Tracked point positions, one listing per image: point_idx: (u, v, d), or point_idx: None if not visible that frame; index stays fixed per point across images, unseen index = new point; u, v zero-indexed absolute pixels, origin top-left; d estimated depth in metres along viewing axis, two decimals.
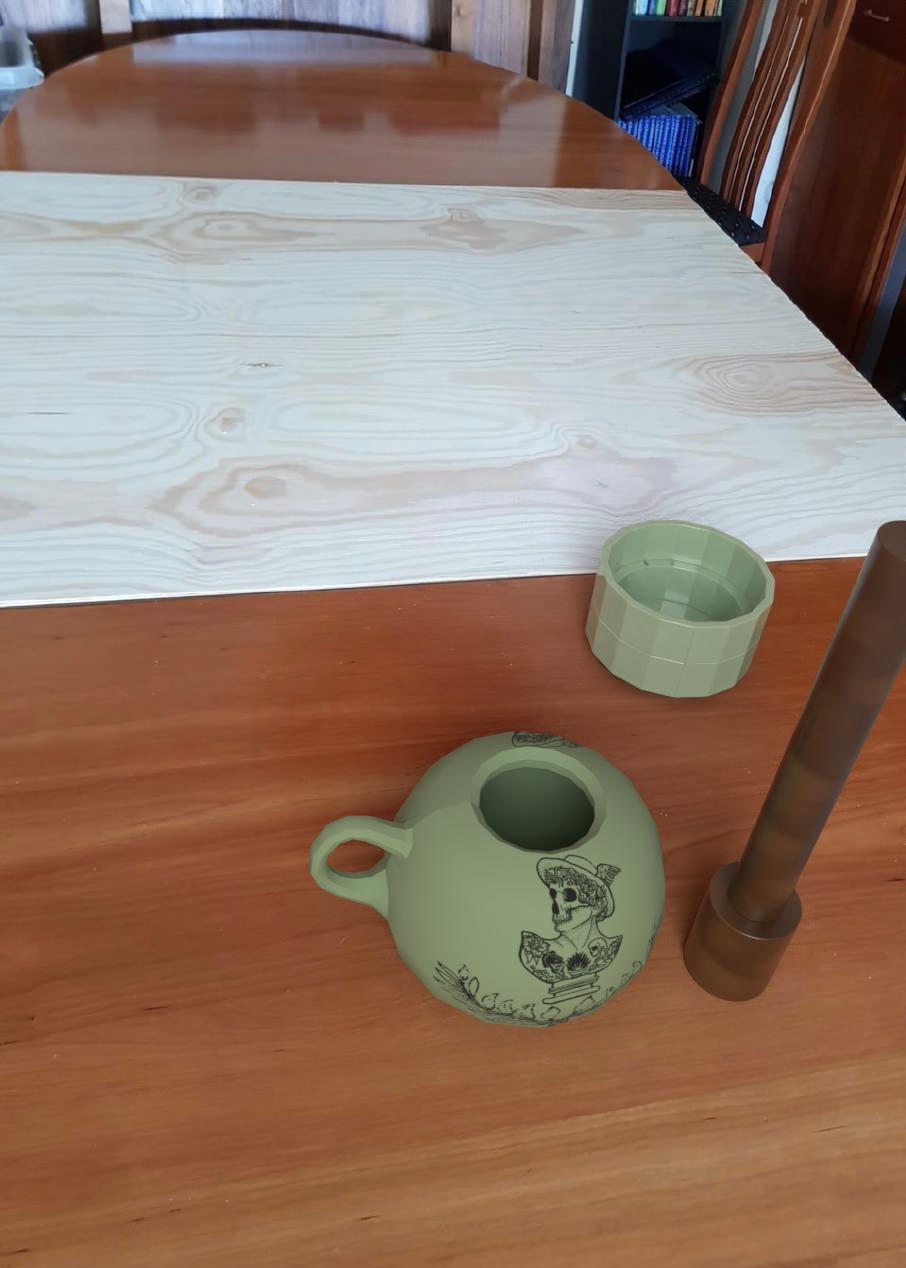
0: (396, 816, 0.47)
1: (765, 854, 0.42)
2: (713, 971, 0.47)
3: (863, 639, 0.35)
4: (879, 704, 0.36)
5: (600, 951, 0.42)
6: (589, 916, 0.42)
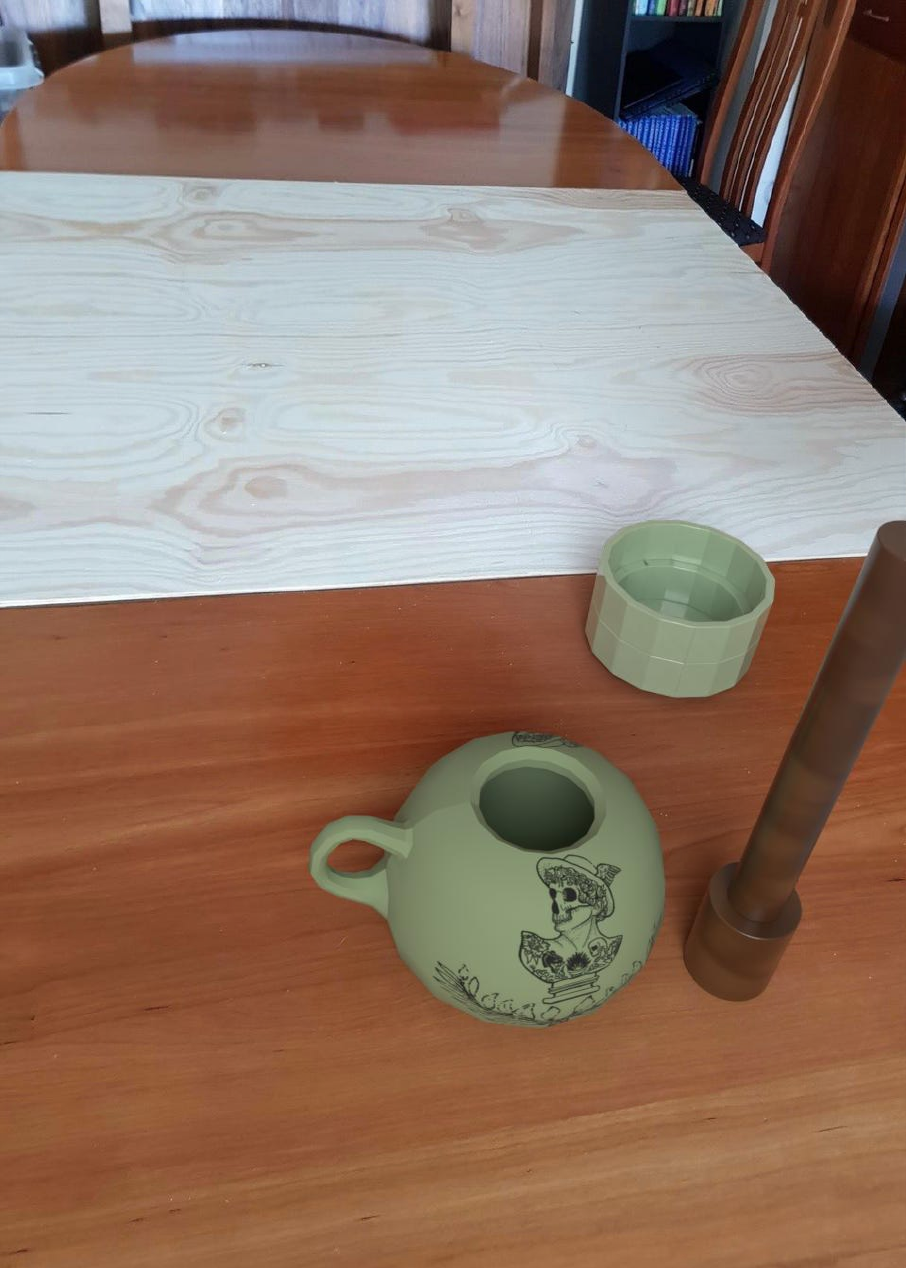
0: (396, 816, 0.47)
1: (765, 854, 0.42)
2: (713, 971, 0.47)
3: (863, 639, 0.35)
4: (879, 704, 0.36)
5: (600, 951, 0.42)
6: (589, 916, 0.42)
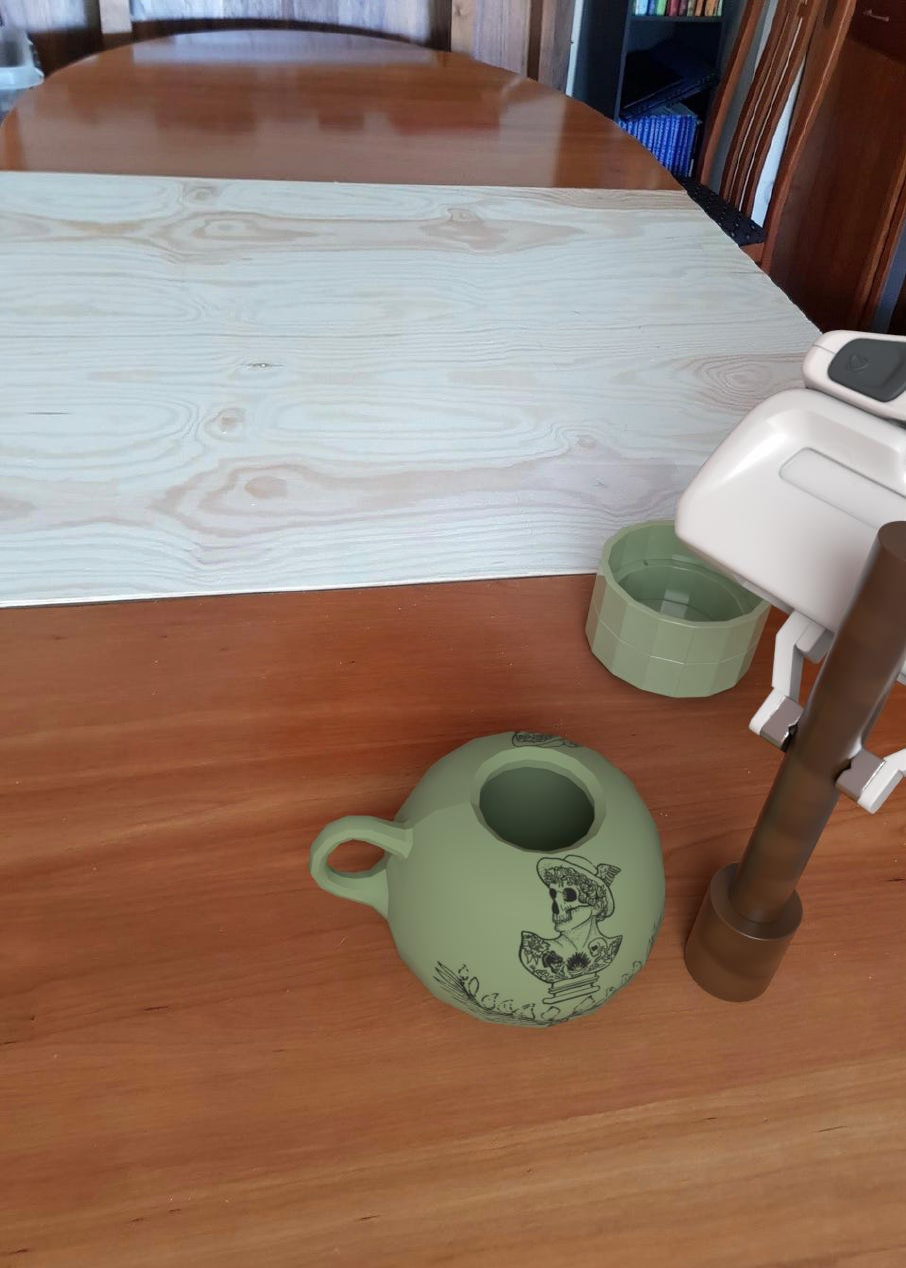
0: (396, 816, 0.47)
1: (766, 855, 0.42)
2: (714, 972, 0.46)
3: (863, 640, 0.34)
4: (880, 705, 0.36)
5: (600, 951, 0.42)
6: (589, 916, 0.42)
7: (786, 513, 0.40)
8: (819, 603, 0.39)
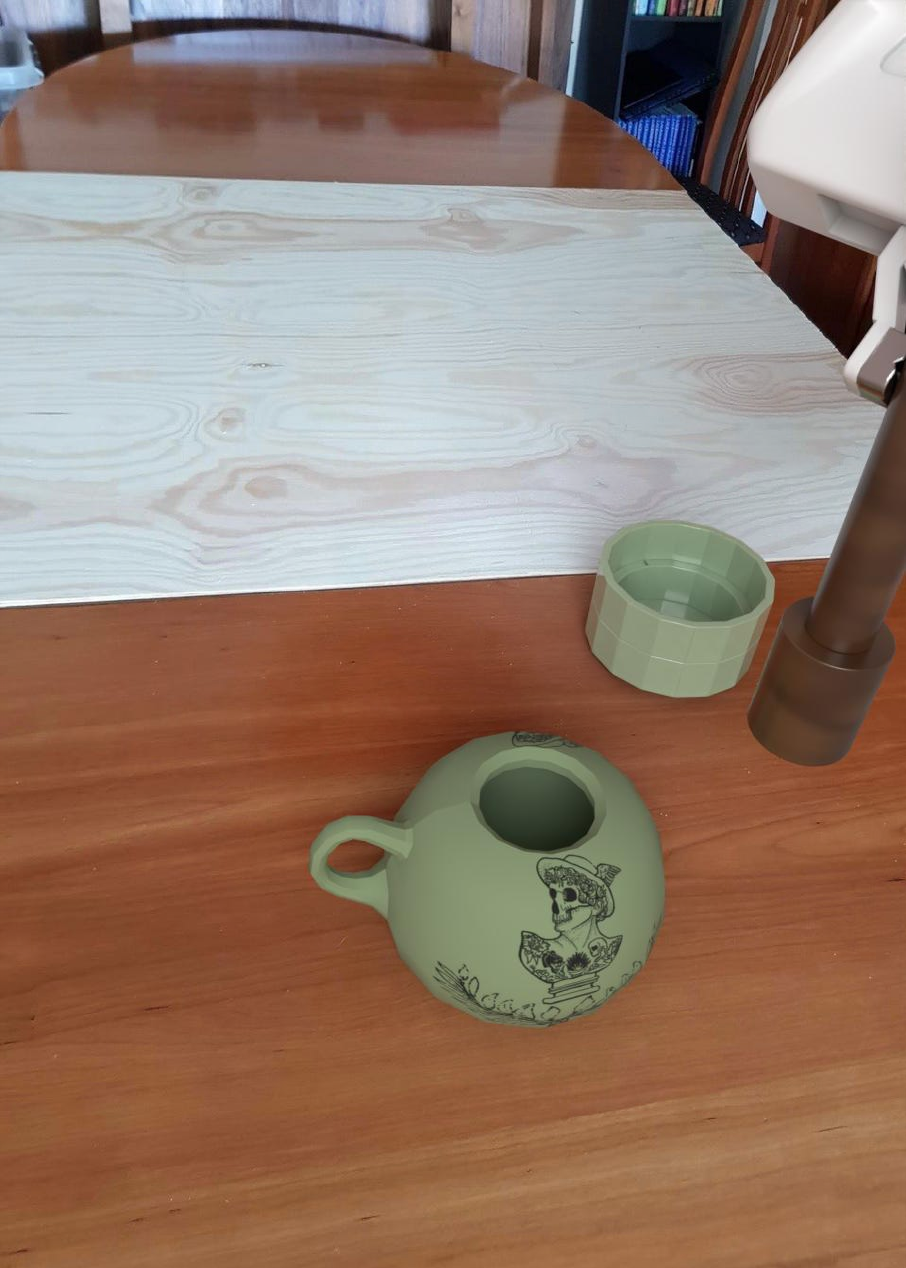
0: (396, 816, 0.47)
1: (858, 551, 0.34)
2: (786, 725, 0.39)
3: None
4: None
5: (600, 951, 0.42)
6: (589, 916, 0.42)
7: (891, 109, 0.32)
8: None
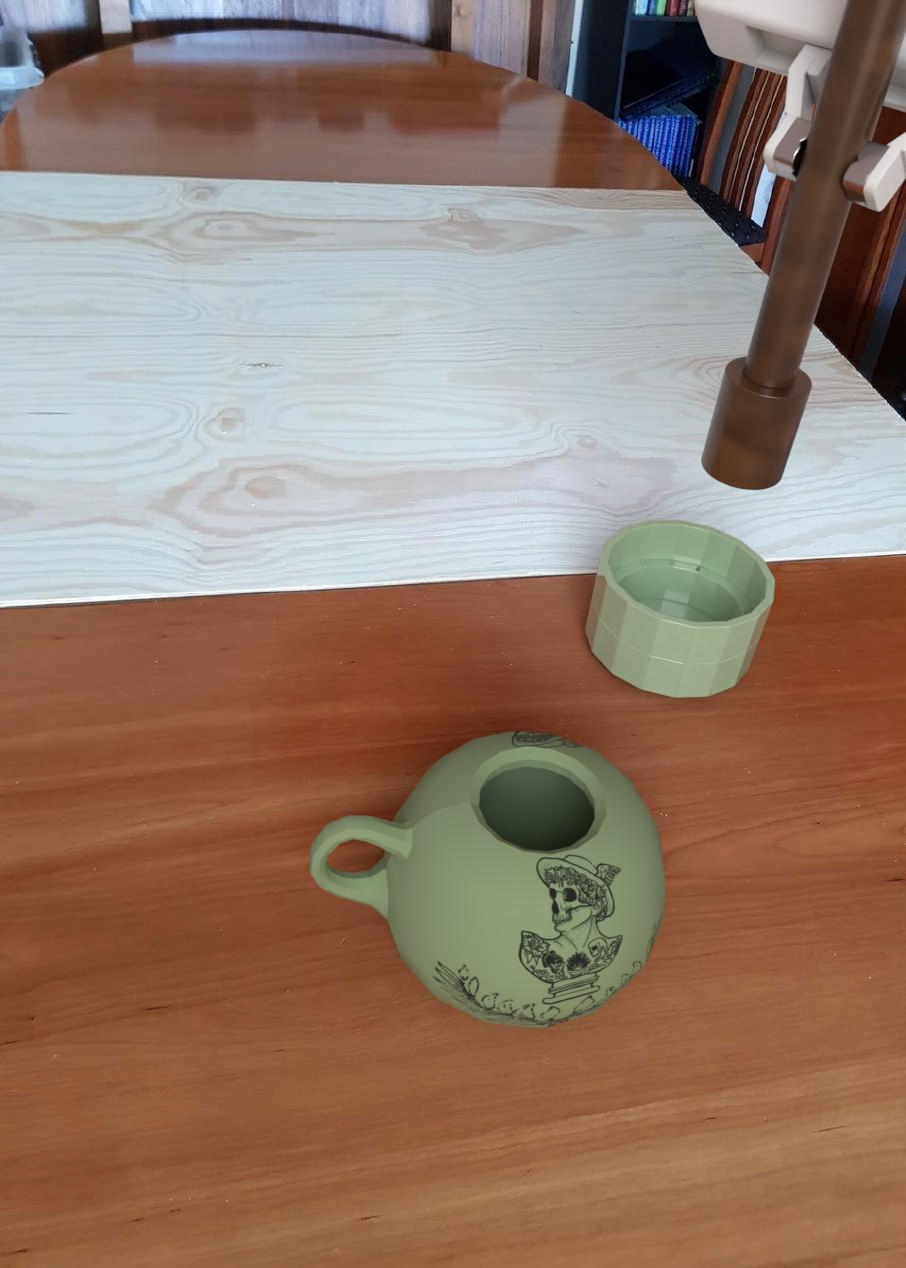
0: (396, 816, 0.47)
1: (778, 296, 0.46)
2: (729, 453, 0.50)
3: None
4: (884, 77, 0.40)
5: (600, 951, 0.42)
6: (589, 916, 0.42)
7: None
8: (828, 23, 0.42)
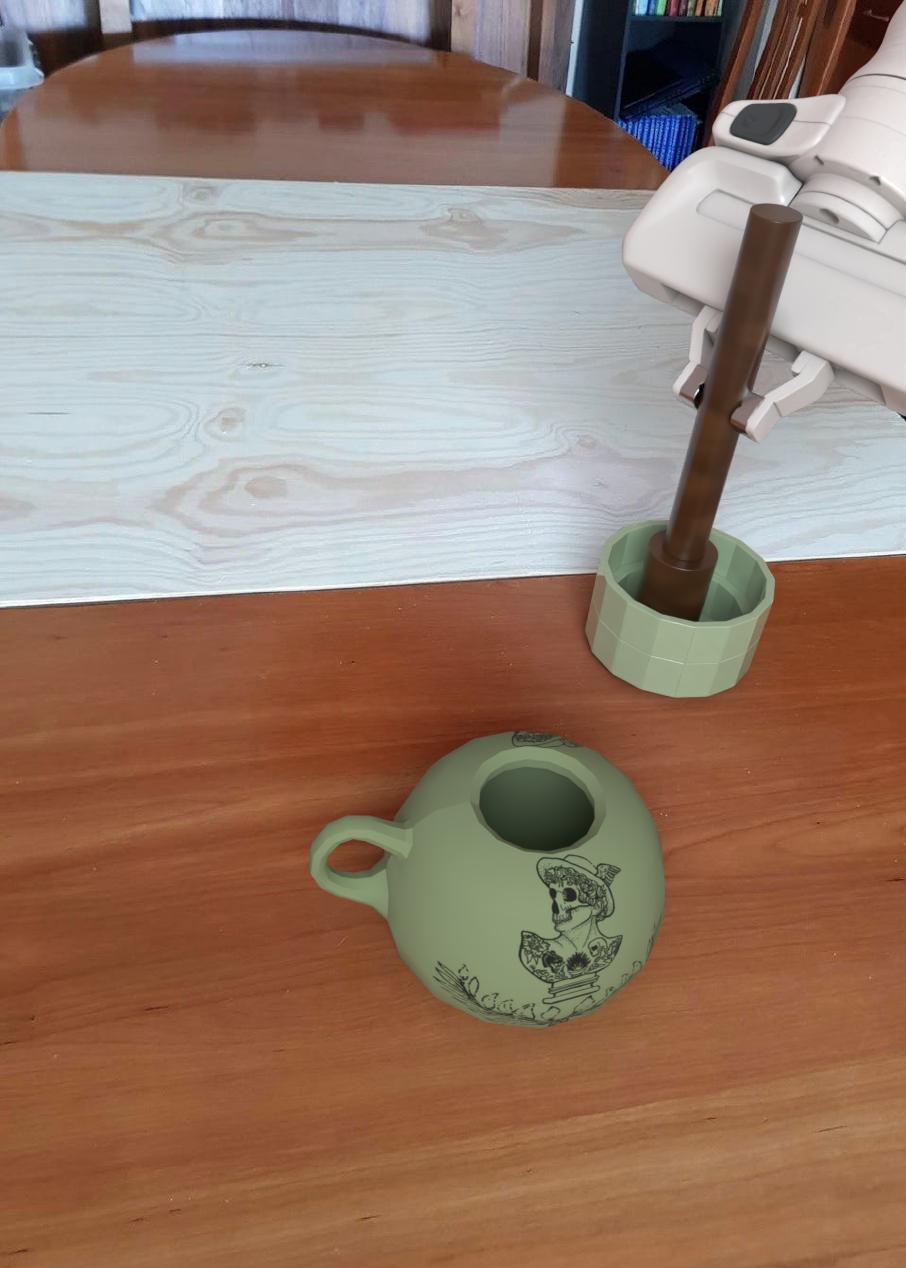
0: (396, 816, 0.47)
1: (686, 495, 0.57)
2: (653, 609, 0.62)
3: (743, 290, 0.49)
4: (758, 348, 0.51)
5: (600, 951, 0.42)
6: (589, 916, 0.42)
7: (700, 236, 0.55)
8: (721, 293, 0.54)
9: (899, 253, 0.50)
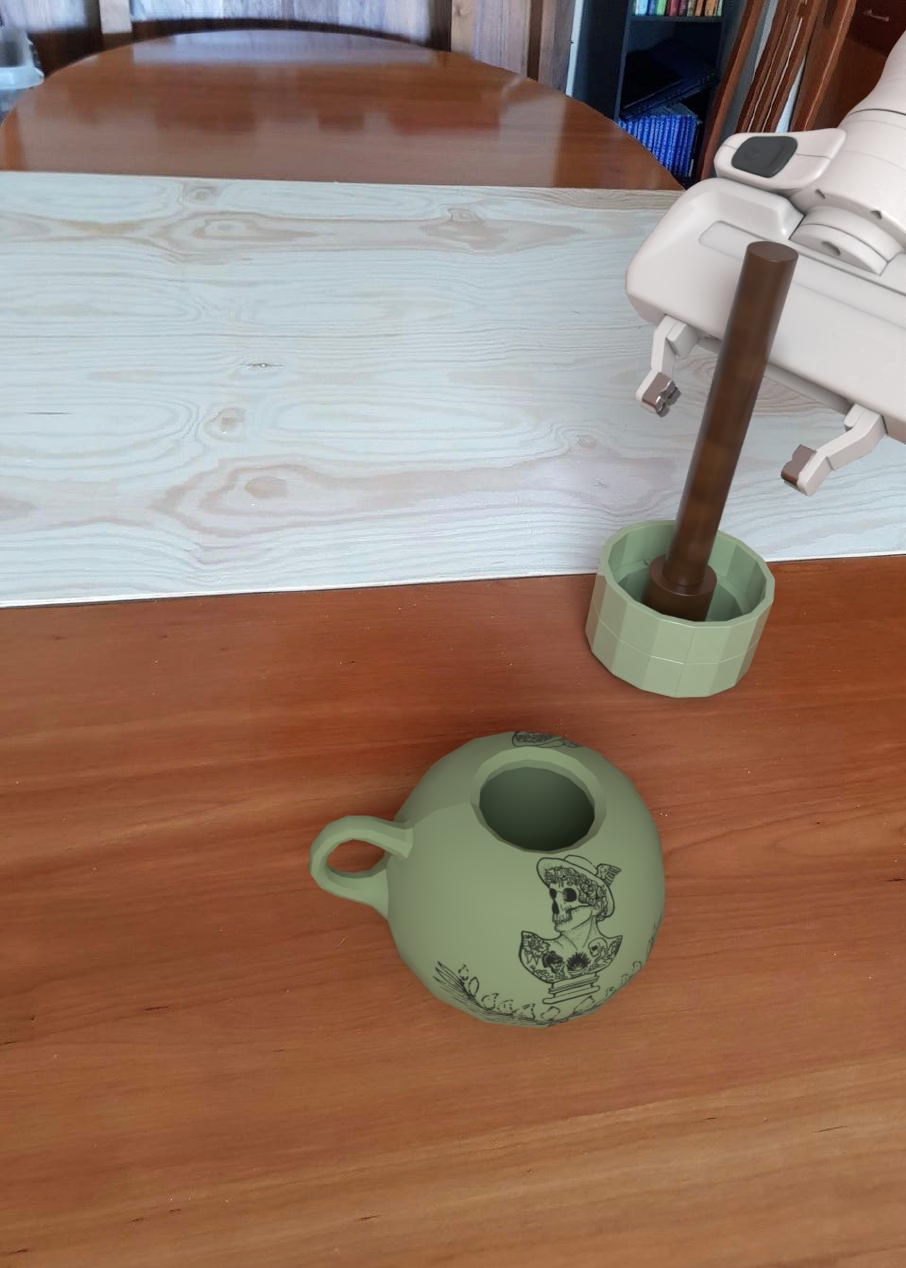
0: (396, 816, 0.47)
1: (686, 522, 0.58)
2: None
3: (740, 325, 0.51)
4: (756, 381, 0.52)
5: (600, 951, 0.42)
6: (589, 916, 0.42)
7: (703, 266, 0.56)
8: (724, 324, 0.55)
9: (900, 285, 0.51)
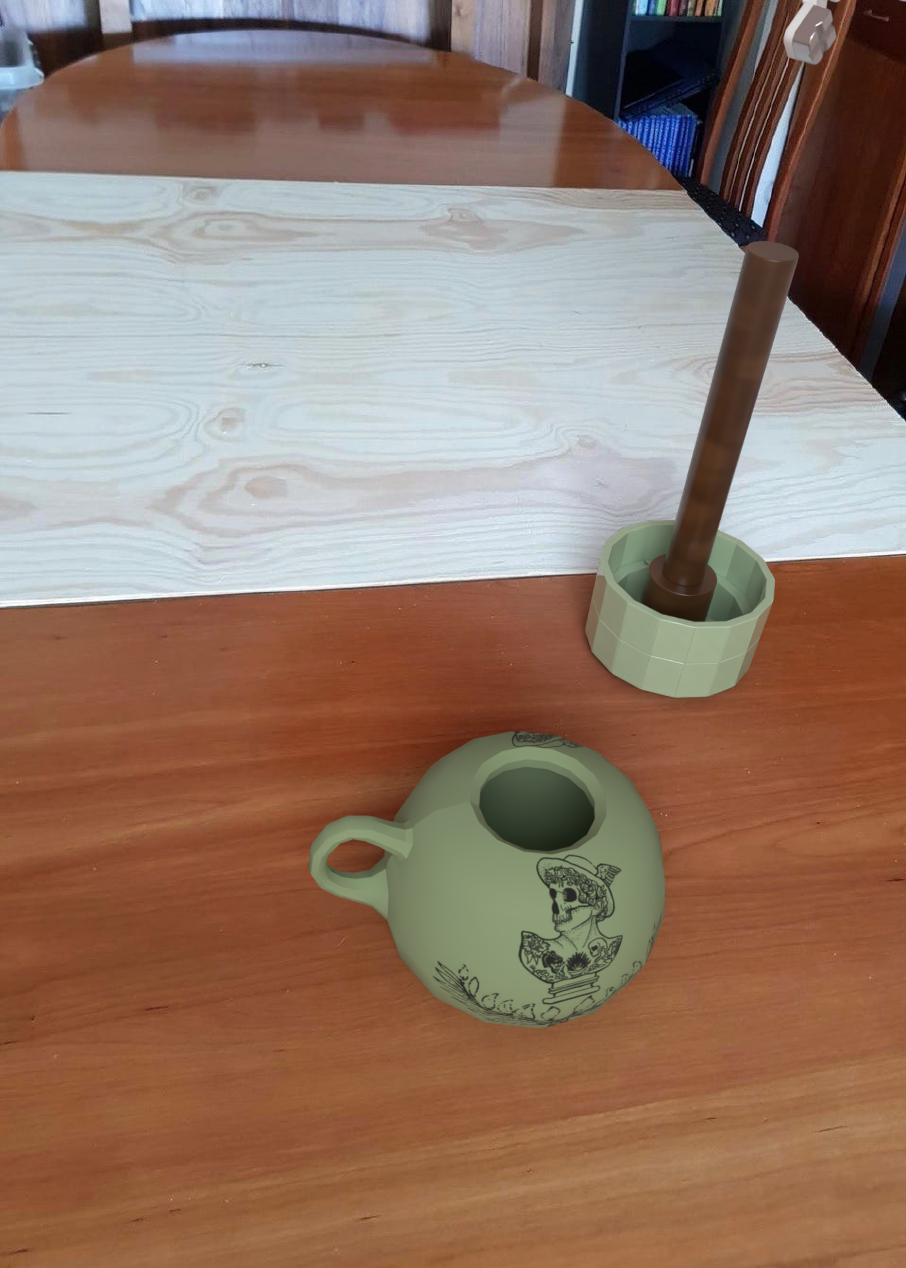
0: (396, 816, 0.47)
1: (686, 522, 0.58)
2: None
3: (740, 325, 0.51)
4: (756, 381, 0.52)
5: (600, 951, 0.42)
6: (589, 916, 0.42)
7: None
8: None
9: None
